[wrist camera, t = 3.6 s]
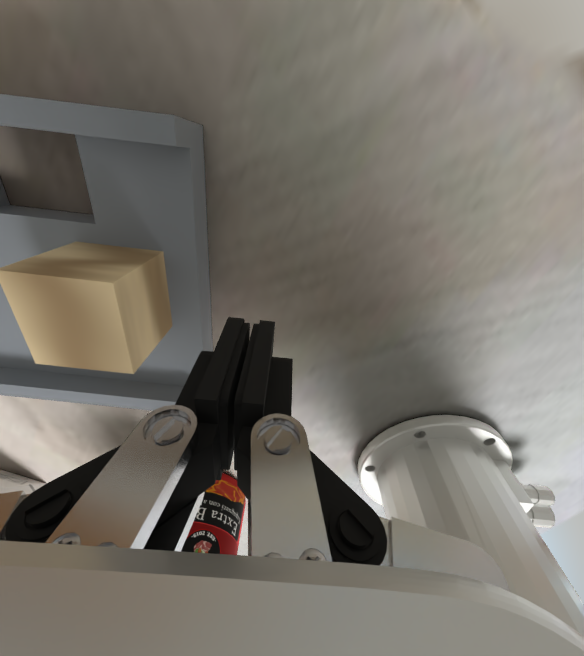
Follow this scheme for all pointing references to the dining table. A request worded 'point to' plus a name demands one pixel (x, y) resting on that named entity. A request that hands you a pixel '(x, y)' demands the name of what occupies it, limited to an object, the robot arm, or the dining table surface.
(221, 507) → the canned food
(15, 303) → the block
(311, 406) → the dining table surface
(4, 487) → the die
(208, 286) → the box
